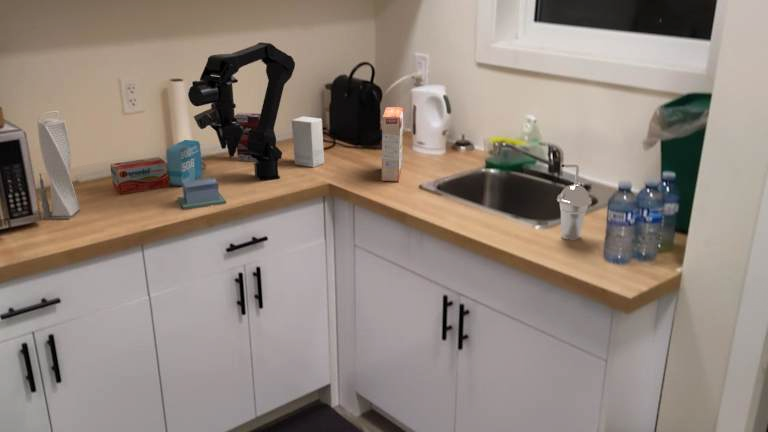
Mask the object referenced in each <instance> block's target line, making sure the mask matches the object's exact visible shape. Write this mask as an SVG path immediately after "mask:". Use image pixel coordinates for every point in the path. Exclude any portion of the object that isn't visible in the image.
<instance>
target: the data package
mask: <svg viewBox="0 0 768 432" xmlns="http://www.w3.org/2000/svg"><path fill="white" fill-rule="evenodd" d="M166 163H167V167H168V173H169V185H171V186H178V187H179V186H180V187H183V186H182V182H183V181H191V180H198V179H200V178H201V177H202V176H203V164H202V163H203V162H202V151H201V144H200V142H199V140H190V139H189V140H188V139H184V140H182V141H179V142H177V143H175V144H173V145H171V146H169V147H167V149H166Z"/></svg>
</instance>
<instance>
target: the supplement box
mask: <svg viewBox="0 0 768 432" xmlns="http://www.w3.org/2000/svg"><path fill="white" fill-rule="evenodd" d="M260 115H261V113H250V112H238V113H237V114H235V117H236V118H237V123H239V124H240V125H241V126H242V127H243V128H244V134H243V136H242V137H241V139H240V141H239V144H238V146H237V149H236V152H237V153H236V154H237V161H239V162H240V161H242V162H254V163H256V158H252V157H251V154H250V152H249V150H248V148H247V143H248V142H246V141H247V139H248V136H249V131H250V130H254V129H255V128H256V127H257V126H258V123H259V119H260ZM234 123H236V122H234Z"/></svg>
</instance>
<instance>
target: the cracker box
mask: <svg viewBox="0 0 768 432" xmlns="http://www.w3.org/2000/svg"><path fill="white" fill-rule="evenodd" d="M381 122H382V125H381V126H382V128H381V129H382V132H381V136H382V137H381V181H382V182H399V181H400V176H401V173H402V166H403V141H404V140H403V139H404V137H403V136H404V133H403V132H404V107H398V106H397V107H396V106H395V107H393V106H392V107H391V106H387V107H385V110H384V113H383V115H382V121H381Z"/></svg>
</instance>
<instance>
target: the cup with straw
mask: <svg viewBox="0 0 768 432" xmlns="http://www.w3.org/2000/svg"><path fill="white" fill-rule="evenodd" d="M561 167H562V168H575V174H574V175H575V176H574V183H573V184H569V185H567V186H565V187H564V188H563V189H562V191H561V193H560V194H558V195H557V198H556V201H557V202H558V203H559V209H560V233H561V234H560V235H561V236H562V237H561V238H563V239H566V240H568V239H569V241H575V240H579V239H580V235H581V233H582V228H583V224H584V219H585V217H586V213H587V210H588V207H589V206H590V205H591V204H592V198H591V196H589V193H588V191H587V189H586V188H585V187H583V186H582V185H580V184H578V180H579V172H580V171H579V170H580V168H579V165H578V164H561Z"/></svg>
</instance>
